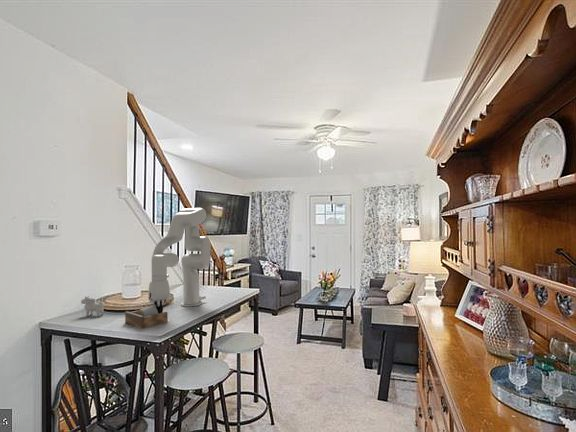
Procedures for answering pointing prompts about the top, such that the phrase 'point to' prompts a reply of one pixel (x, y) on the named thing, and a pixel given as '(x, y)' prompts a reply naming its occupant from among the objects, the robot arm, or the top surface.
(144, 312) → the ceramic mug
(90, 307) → the grey animal figurine
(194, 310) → the top surface
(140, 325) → the open wooden box
